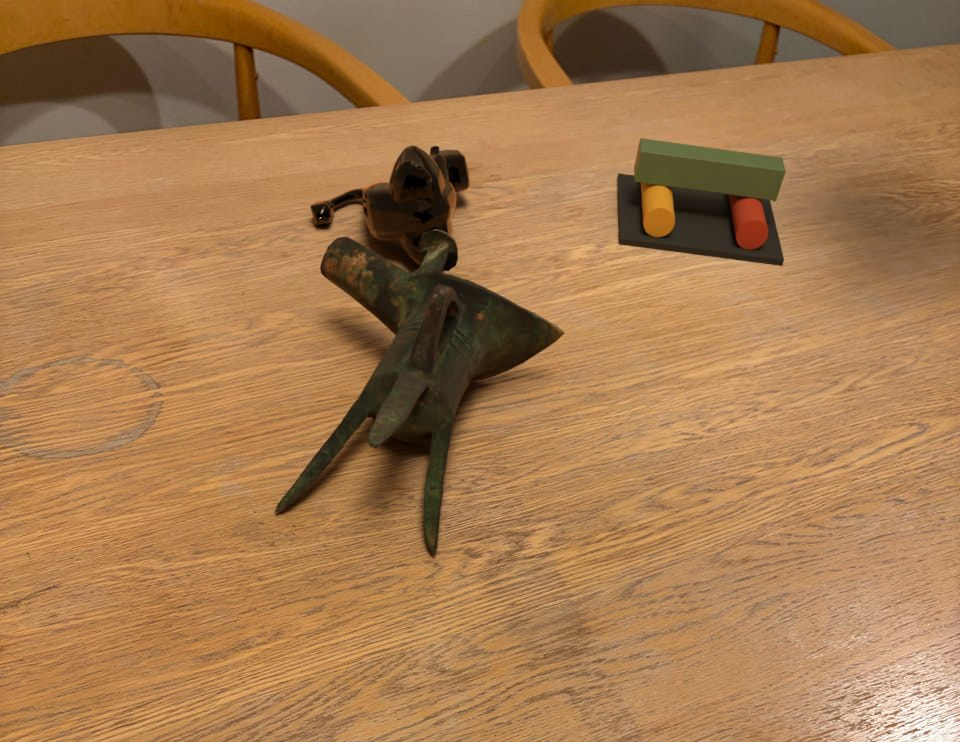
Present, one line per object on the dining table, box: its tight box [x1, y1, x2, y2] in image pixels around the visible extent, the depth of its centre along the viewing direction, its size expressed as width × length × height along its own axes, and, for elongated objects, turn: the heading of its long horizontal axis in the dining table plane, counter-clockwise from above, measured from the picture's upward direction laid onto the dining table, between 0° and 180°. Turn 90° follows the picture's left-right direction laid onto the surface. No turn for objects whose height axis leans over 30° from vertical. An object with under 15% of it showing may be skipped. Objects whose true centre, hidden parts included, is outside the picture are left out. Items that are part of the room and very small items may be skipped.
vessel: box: [273, 229, 565, 557], centre depth 73 cm, size 19×12×25 cm
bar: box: [633, 137, 786, 202], centre depth 99 cm, size 14×3×3 cm, turn 85°
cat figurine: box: [309, 144, 471, 267], centre depth 95 cm, size 10×14×18 cm
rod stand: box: [616, 172, 785, 266], centre depth 102 cm, size 16×14×4 cm
